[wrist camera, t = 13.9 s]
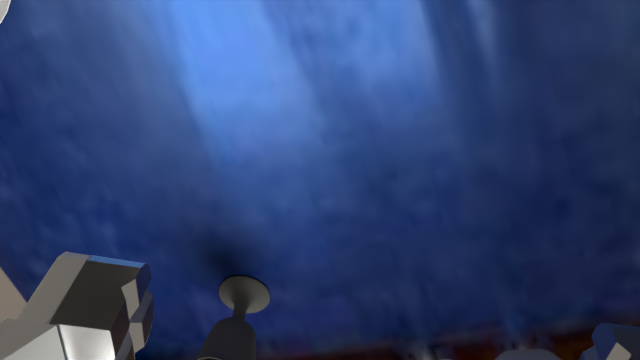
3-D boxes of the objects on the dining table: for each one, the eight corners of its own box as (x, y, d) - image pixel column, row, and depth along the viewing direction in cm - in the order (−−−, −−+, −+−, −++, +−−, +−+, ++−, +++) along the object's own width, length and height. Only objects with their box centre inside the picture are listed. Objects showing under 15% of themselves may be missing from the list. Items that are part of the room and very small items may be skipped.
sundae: (225, 257, 54) (178, 404, 41) (291, 287, 55) (263, 437, 43) (198, 299, 57) (148, 446, 45) (260, 326, 59) (227, 475, 47)
